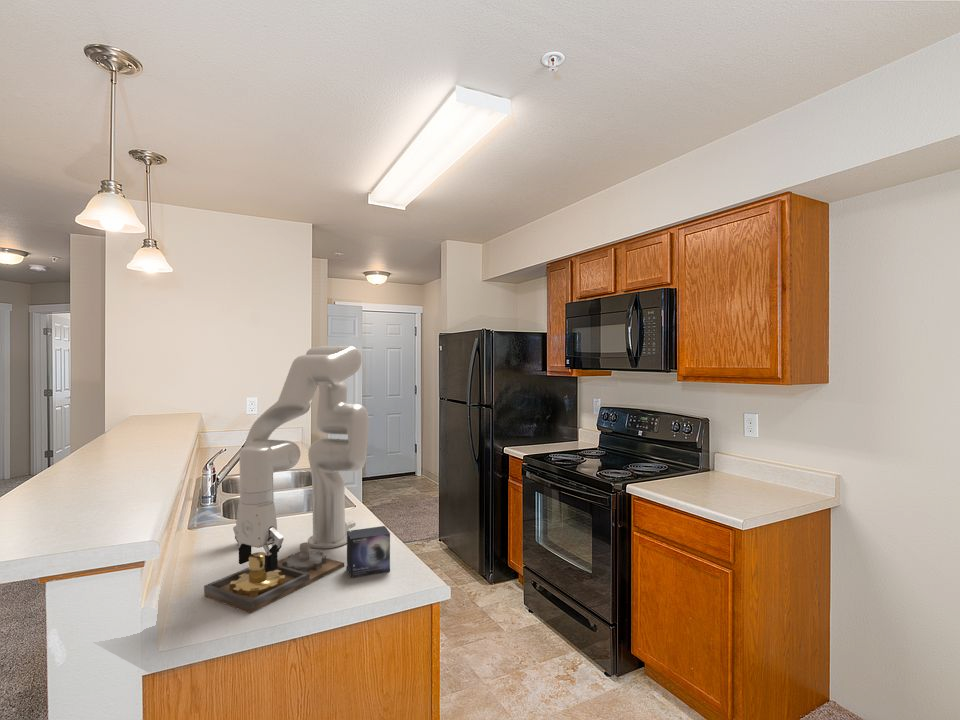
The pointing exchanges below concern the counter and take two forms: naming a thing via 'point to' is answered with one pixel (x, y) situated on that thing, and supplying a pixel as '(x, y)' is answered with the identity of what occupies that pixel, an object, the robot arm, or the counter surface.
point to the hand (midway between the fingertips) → (258, 566)
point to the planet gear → (257, 578)
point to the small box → (368, 551)
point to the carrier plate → (297, 575)
